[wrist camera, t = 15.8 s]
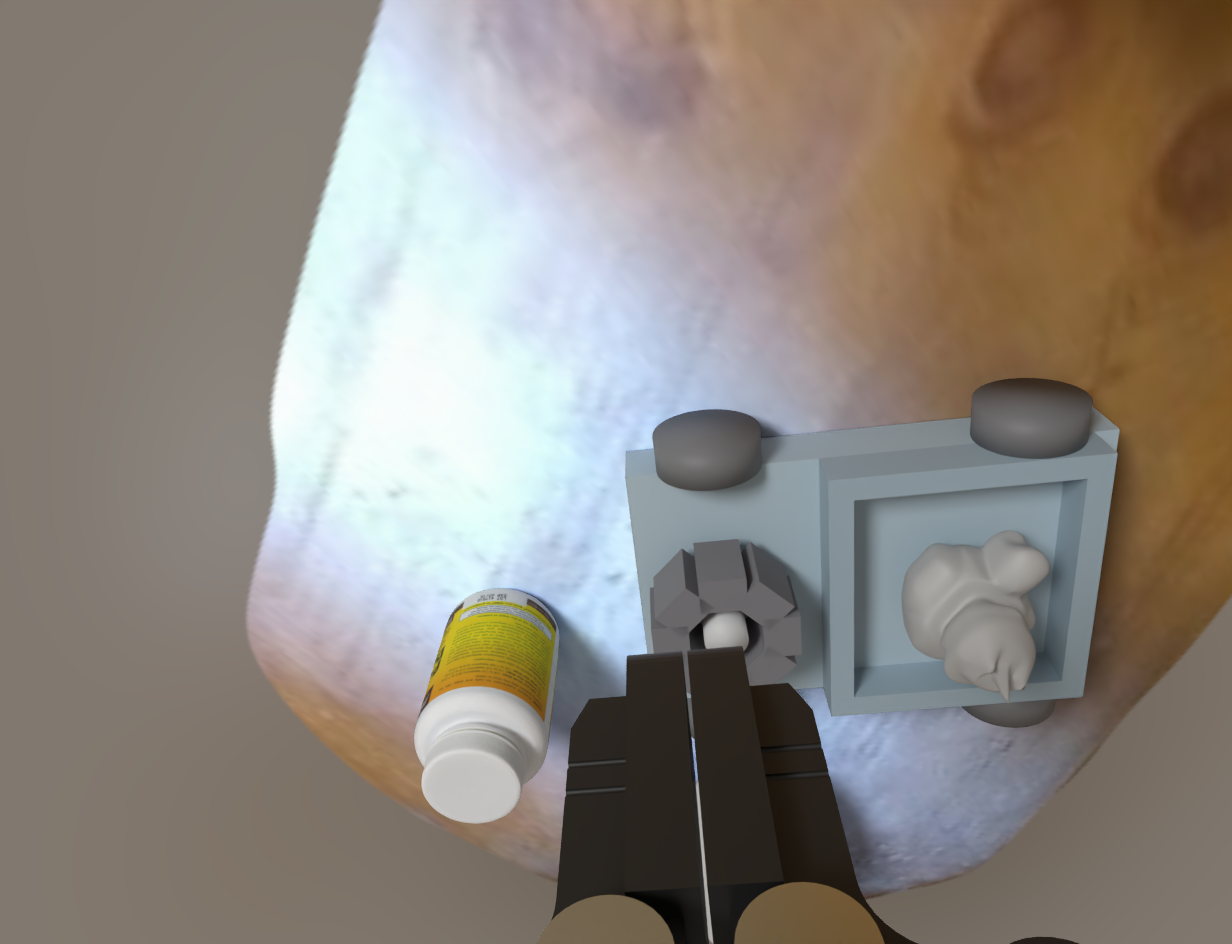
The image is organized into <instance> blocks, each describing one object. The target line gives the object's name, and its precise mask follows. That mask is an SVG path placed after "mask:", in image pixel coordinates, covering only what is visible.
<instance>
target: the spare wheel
mask: <svg viewBox="0 0 1232 944" xmlns="http://www.w3.org/2000/svg"><path fill="white" fill-rule="evenodd" d="M693 546H694V556H695V557H694V556H692V555H691V554H689V553H688V552H686V551H685V550H684V549H681V550H680V551H679V552H678V553H677V554H676V555H675V556H674V557H673V558H672V559H671V560H670V561H669V562H668V563H667V564H666V565H665V566H664V567H663V568H662V569H661V570H660V571H659V572H658V573H657V574H656V575H655V576H654V577H653V582H654V587H652V588H650V614H651V634H652V642H653V650H654V653H665V652H677V651H682V654H683V662H684V672H685V681H686V691H687V693H689V694H690V695H691V691H690V679H689V668H688V656H687V650H698V649H706V647H705V642H704V634H703V625H702V624H701V623H699V622H700V621H702V620H703V619H704V618H705V617H706V616H707V615H708V614H709V613H718V612H729V611H741V612H743V613H744V614H746V615H747V617H746V618H745V621H746V626H747V631H748V637H749V643H748V646H747V648H746V649H745V650H744V656H745V662H746V667H747V673H748V679H749V685H750V686H753V685H754V686H755V685H767V684H776V683H777V682H778V681H780V680H781V679H782V678H783V677H784V676H785V675H786V674H787V673H789V672H790V671H791V670H792V669H793V668H794V667H795V666H796V665H797V663H796V659H795V655H802V646H801V616H800V613H799V609H798V606H797V602H796V599H795V595H794V591H793V588H792V584H791V581H790V577H789V575H787V576H786V572H785V569H784V566H783V565H782V564H780V563H779V562H778V561H776V560H775V559H773V558H772V557H771V556H769V555H768V554H767V553H765V552H764V551H762V550H761V549H760V548H758V547H757V546H755V545H754V544H753V543H751V542H750V543H749V544H748V545H747V546H746V547H745V548H744V549H743V550H742V551H741V549H740V544H739V539H731V540H720V541H709V542H699V543H693Z"/></svg>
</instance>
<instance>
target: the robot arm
mask: <svg viewBox="0 0 1232 944" xmlns="http://www.w3.org/2000/svg"><path fill="white" fill-rule="evenodd" d="M687 656H688V668H689V679H690V691H691V703H692V714H693V726H694V738H695V749H696V761H697V772H698V784H699V796H700V807H701V819H702V830H703V842H704V854H705V865H706V877H707V888H708V898H709V907H710V917H711V926H712V936H713V944H917V943H915V942H913V941H911V940H909V939H907V938H905V937H904V936H902V935H900V934H899V933H897V932H895V931H894V930H893V929H892V928H890V927H889V926H888V925H886V924H885V923H884V922H883V921H882V920H881V919H880V918H879V917H878V916H877V915H876V914H875V913H874V912H873V910H872V909H871V908H870V906H869V905H868V904H867V902H866V900H865V899H864V897H863V895H862V893H861V891H860V888H859V886H858V883H857V880H856V876H855V872H854V868H853V864H852V861H851V857H850V853H849V849H848V845H847V841H846V837H845V834H844V830H843V826H842V822H841V818H840V814H839V810H838V807H837V803H836V799H835V795H834V791H833V787H832V783H831V780H830V777H829V775H828V768H827V764H826V760H825V756H824V753H823V749H822V748H821V741H820V737H819V733H818V729H817V726H816V722H815V718H814V714H813V710H812V709H811V708H810V706H809V705H808V704H807V703H806V702H805V701H804V700H803V699H802V697H801V696H800V695H799V694H798V693H797V692H796V691H795V690H794V688H793V687H792V686H791V685H790V684H789V683H779V684H767V685H755V686H750V685H749V679H748V673H747V667H746V662H745V656H744V651H743V647H742V646H734V647H722V648H710V649H698V650H687ZM568 765H569V769H568V770H567V781H566V797H565V805H564V816H563V828H562V840H561V851H560V863H559V874H558V886H557V898H556V905H555V911H554V914H553V917H552V920H551V922H550V923H549V924H548V925H547V926H546V928H545V929H544V931H543V932H542V934H541V935H540V937H539V939H538V942H537V944H709V938H708V926H707V913H706V901H705V889H704V877H703V865H702V853H701V841H700V829H699V816H698V804H697V792H696V781H695V770H694V759H693V749H692V739H691V729H690V720H689V710H688V701H687V691H686V681H685V672H684V662H683V654H682V651H677V652H665V653H653V654H641V655H629V656H627V673H626V696H622V697H610V698H597V699H589V701H588V703H587V704H586V706H585V707H584V709H583V711H582V712H581V714H580V715H579V717H578V719H577V720H576V722H575V723H574V725H573V727H572V728H571V735H570V746H569V758H568ZM1010 944H1078V943H1075V942H1072V941H1069V940H1065V939H1059V938H1054V937H1032V938H1025V939H1021V940H1018V941H1015V942H1012V943H1010Z"/></svg>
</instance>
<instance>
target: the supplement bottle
mask: <svg viewBox="0 0 1232 944" xmlns="http://www.w3.org/2000/svg"><path fill="white" fill-rule="evenodd" d="M559 641H560V637H559V630H558V626H557V624H556V621H555V619H554V617H553V615H552V614H551V612H550V611H549V610H548V609H547V608H546V607H545V606H544V605H543V604H542V603H541V602H540V601H538V600H537V599H536V598H534V597H532V596H531V595H529V594H526V593H524V592H521V591H518V590H513V589H506V588H493V589H487V590H483V591H480V592H477V593H475V594H472V595H471V596H469V597H467V598H466V599H464V600H463V601H462V602H461V603H459V604H458V605H457V607H456V608H455V609H454V611H453V612H452V614H451V615H450V618H449V620H448V622H447V625H446V628H445V632H444V635H443V638H442V642H441V645H440V648H439V651H438V655H437V658H436V661H435V664H434V668H433V671H432V674H431V678H430V681H429V685H428V688H427V691H426V695H425V698H424V701H423V704H422V707H421V711H420V714H419V717H418V720H417V724H416V729H415V735H414V741H415V748H416V752H417V755H418V757H419V760H420V761H421V763H422V765H423V766H424V771H423V775H422V790H423V793H424V796H425V798H426V799H427V801H428V802H429V804H430V805H431V806H432V807H433V808H434V809H435V810H437V811H438V812H439V813H441V814H442V815H444V816H446V817H448V818H450V819H453V820H456V821H460V822H465V823H486V822H491V821H494V820H497V819H499V818H501V817H503V816H505V815H507V814H508V813H509V812H510V811H512V810H513V809H514V807H515V806H516V805H517V803H518V801H519V799H520V797H521V793H522V786H523V785H524V784H525V783H527V782H528V781H529V780H530V779H532V778H533V777H534V776H535V775H536V773H537V772H538V771H539V769H540V768H541V766H542V764H543V762H544V760H545V757H546V753H547V749H548V742H549V733H550V725H551V717H552V709H553V699H554V691H555V682H556V673H557V663H558V654H559Z"/></svg>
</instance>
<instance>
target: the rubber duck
mask: <svg viewBox="0 0 1232 944" xmlns="http://www.w3.org/2000/svg"><path fill="white" fill-rule="evenodd" d="M1048 573H1049V562H1048V560H1047V558H1046V557H1045V555H1044V554H1043V553H1042V552H1041V551H1039V550H1038V549H1036V548H1033V547H1030V546H1027V544H1026V541H1025V538H1024V536H1023V535H1022V534H1020V533H1018V532H1016V531H1010V530H1009V531H1002V532H999V533H997V534H995V535H994V536H992V537H991V538H990V539H989V540H988V541H987V542H986V543H985V544H984V546H983V547H976V546H971V545H953V546H950V545H947V544H942V543H935V544H932V545H930V546H929V547H928V548H927V549H926V550H925V551H924V552H923V553H922V554H921V555H920V556H919V557H918V558H917V559H916V560H915V561H914V562H913V563H912V564H911V566H910V567H909V568H908V570H907V572H906V574H905V577H904V582H903V589H902V594H901V602H902V613H903V621H904V626H905V629H906V631H907V634H908V636H909V639H910V641H911V643H912V645H913V646H914V647H915V648H916V649H917V650H918V651H920V652H921V653H923V654H925V655H926V656H929V657H931V658H934V659H939V660H944V671H945V673H946V675H947V676H948V677H949V678H950V679H951V680H953V681H955V682H958V683H961V684H974V685H976V686H977V687H979V688H981V689H984V690H986V691H990V692H1000V693H1001V695H1002V696H1003V698H1004V699H1005V701H1006V702H1007V703H1008V704H1009V698H1010V691H1021V690H1023V691H1024V689H1025V687H1026V684H1027V681H1028V678H1029V676H1030V673H1031V671H1032V669H1033V666H1034V662H1035V657H1036V649H1035V643H1034V640H1033V638H1032V635H1031V633H1030V630H1031V629H1032V628H1033V626H1034V624H1035V621H1036V619H1035V614H1034V610H1033V608H1032V605H1031V603H1030V601H1029V599H1028V596H1027V592H1028V591H1030V590H1031V589H1033V588H1034V587H1035V586H1037V585H1038V584H1039V583H1040V582H1041V581H1042V580H1043V579H1044V578H1045V577H1046V576H1047V574H1048Z"/></svg>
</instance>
